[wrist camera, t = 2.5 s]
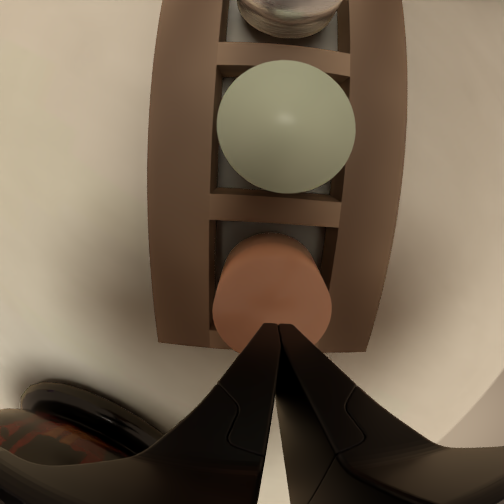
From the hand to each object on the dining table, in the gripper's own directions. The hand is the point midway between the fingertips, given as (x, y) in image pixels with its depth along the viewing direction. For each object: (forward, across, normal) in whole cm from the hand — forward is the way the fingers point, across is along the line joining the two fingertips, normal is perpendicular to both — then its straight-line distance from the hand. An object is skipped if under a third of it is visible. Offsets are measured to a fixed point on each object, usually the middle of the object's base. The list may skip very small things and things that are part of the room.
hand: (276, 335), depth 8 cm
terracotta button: (+4, 0, 0) cm, 4 cm away
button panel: (+6, 0, -6) cm, 8 cm away
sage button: (+4, 0, -6) cm, 7 cm away
